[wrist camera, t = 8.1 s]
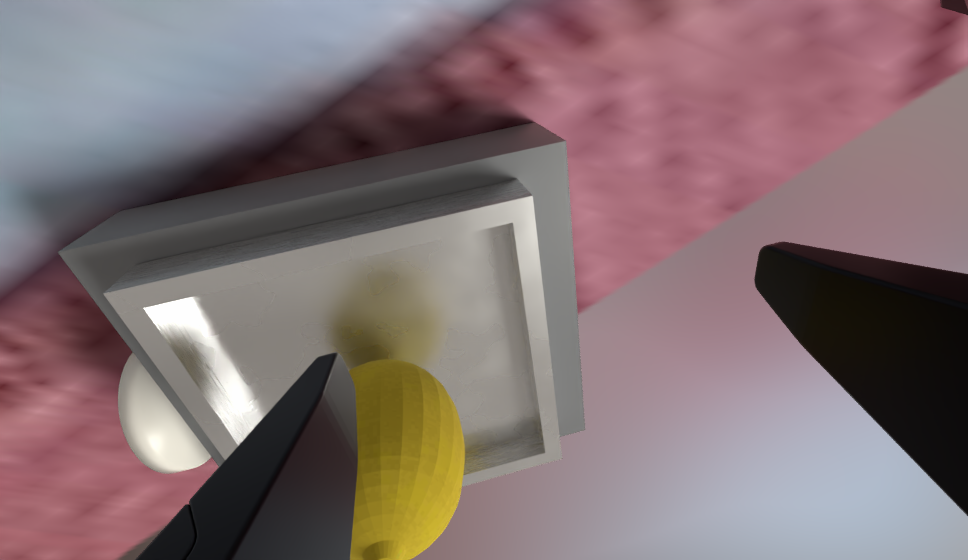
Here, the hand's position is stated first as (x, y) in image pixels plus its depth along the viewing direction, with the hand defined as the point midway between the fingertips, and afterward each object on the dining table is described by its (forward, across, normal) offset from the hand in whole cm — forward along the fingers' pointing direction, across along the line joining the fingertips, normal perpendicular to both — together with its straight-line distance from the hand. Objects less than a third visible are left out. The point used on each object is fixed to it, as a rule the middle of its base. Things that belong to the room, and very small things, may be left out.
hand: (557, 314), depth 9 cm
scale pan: (+8, +6, +7) cm, 12 cm away
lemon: (+8, +6, +7) cm, 12 cm away
